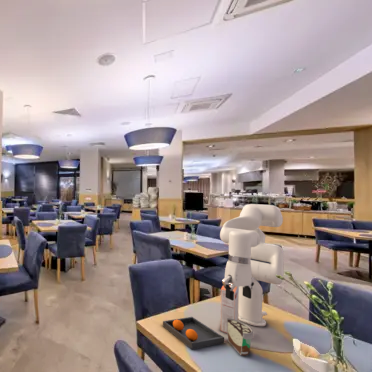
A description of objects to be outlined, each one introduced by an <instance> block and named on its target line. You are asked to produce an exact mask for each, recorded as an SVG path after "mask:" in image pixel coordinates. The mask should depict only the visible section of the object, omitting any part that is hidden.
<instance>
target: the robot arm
mask: <svg viewBox="0 0 372 372" xmlns="http://www.w3.org/2000/svg"><path fill="white" fill-rule="evenodd" d="M283 222H284V217H283V214H282V211H281V209H280V208H279V207H278V206H276V205H273V204H258V203H250V204H246V205H244V206H243V207H242V209H241V211H240V213H239V216H237V217H234V218H231V219H228V220H227V221H225V222H224V223H223V225H222V227H221V229H220V232H219V238H220V240H221V241H222V242H223V243H225V244H228V256H227V257H228V260H227V262H226V265H225V270H224V278H222V280H221V282H222V286H224V288H225V289H226V294H225V297H226V298H228V299H230V300H234V291H233V289H234V288H235V287H239V304H238V321H240V322H243V323H244V324H246V325H250V326H254V327H265V326H267V321H266V320H265V319H264V318H263V317H265V316H268V313H267V311H264V310H263V294H264V292H263V287H262V286H261V284H260V282H264V283H267V284H273V285H281V284H282V283H283V280H281V279H279V278H277V277H276V276H275V275H276V274H277V275H281V276H282V277H283V278H284V265H285V251H284V249H283V248H282V246H280V245H277V244H272V243H266V234H265V232H263V231H262V229H261V228H260V227H269V228H270V227H271V228H279V227H281V226H282V225H283ZM232 283H233V284H232ZM229 285H231V287H230V286H229Z"/></svg>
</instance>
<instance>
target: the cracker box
mask: <svg viewBox="0 0 372 372" xmlns="http://www.w3.org/2000/svg"><path fill="white" fill-rule="evenodd" d="M232 284H233V283H232ZM229 286H230V287H231V285H229ZM233 291H234V300H230V299H228V298H226V297H225V294H226V289H225V288H224V286H223V285H222V286H221V288H220V332H221V333H222V332H223V333H226V334H228V329H227V322H226V321H227V318H231V319H235V320H238V321H239V319H238V304H239V287H235V288H234V289H233Z"/></svg>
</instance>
